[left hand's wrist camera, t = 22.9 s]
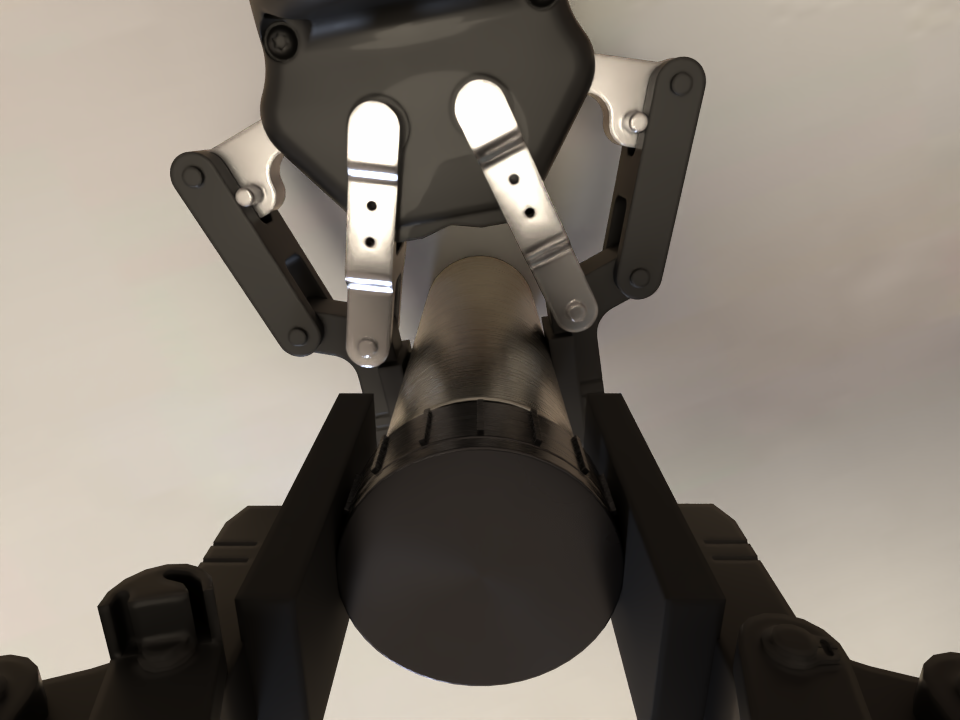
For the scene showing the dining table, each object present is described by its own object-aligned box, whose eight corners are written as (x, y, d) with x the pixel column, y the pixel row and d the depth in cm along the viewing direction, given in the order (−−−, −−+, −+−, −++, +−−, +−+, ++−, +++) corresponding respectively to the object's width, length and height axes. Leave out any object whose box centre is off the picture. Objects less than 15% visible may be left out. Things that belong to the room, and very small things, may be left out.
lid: (298, 484, 12) (271, 542, 10) (519, 348, 11) (526, 387, 9) (447, 654, 13) (443, 728, 12) (654, 545, 12) (680, 610, 11)
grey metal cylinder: (419, 350, 26) (350, 617, 12) (434, 247, 25) (374, 416, 11) (522, 366, 26) (570, 646, 12) (543, 265, 25) (623, 452, 11)
